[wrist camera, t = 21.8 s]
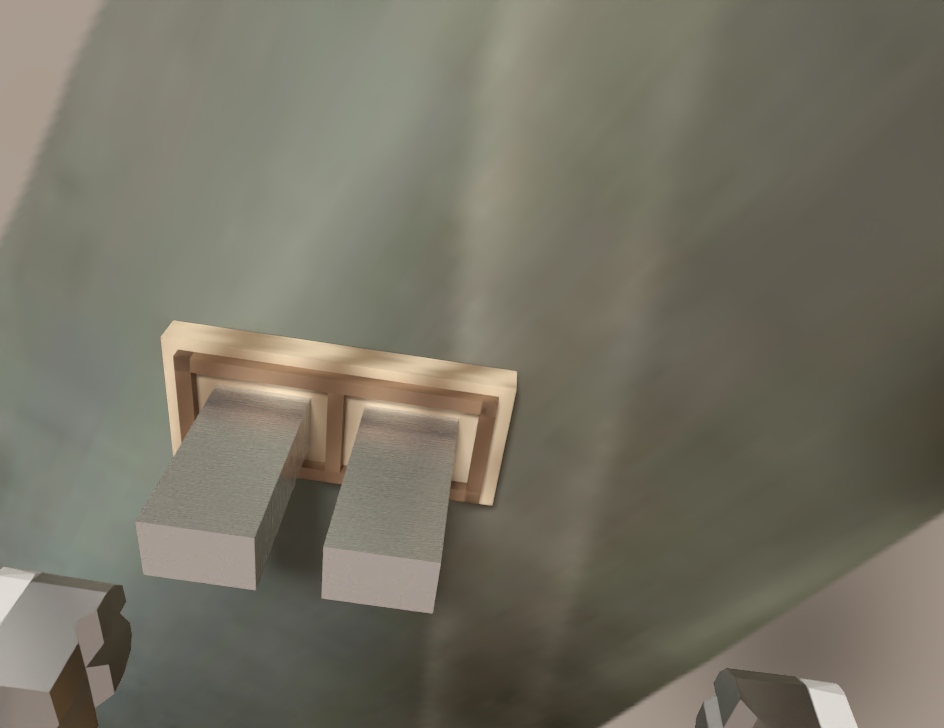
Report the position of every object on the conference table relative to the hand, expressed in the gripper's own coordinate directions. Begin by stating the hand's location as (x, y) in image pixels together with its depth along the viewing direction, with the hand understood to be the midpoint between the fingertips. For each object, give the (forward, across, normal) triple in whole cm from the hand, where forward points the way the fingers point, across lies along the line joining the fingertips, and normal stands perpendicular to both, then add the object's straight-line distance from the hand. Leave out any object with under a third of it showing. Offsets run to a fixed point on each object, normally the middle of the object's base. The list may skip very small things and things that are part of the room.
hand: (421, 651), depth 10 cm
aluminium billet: (+32, +2, +23) cm, 40 cm away
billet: (+32, +12, +23) cm, 41 cm away
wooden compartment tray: (+34, +7, +23) cm, 42 cm away
